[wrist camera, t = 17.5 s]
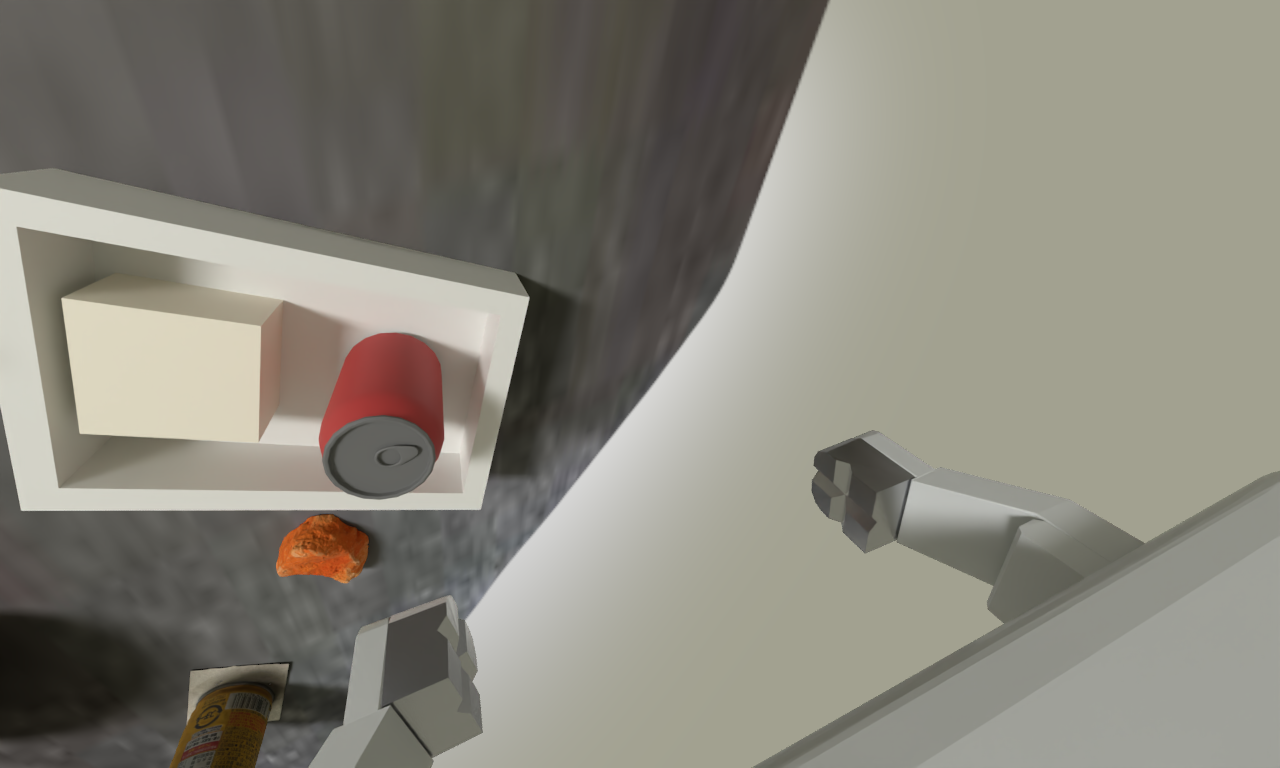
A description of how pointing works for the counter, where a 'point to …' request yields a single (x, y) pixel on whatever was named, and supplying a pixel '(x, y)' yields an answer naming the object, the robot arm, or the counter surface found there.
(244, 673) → the condiment
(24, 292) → the tray
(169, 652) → the counter surface
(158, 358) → the cream rectangular box
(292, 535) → the rock
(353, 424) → the beer can
